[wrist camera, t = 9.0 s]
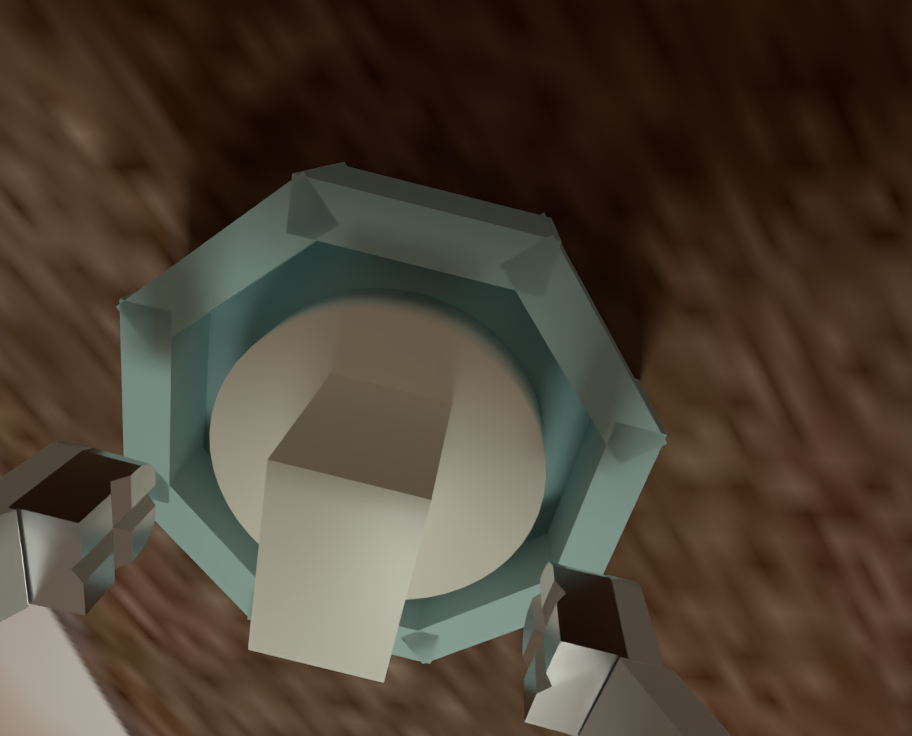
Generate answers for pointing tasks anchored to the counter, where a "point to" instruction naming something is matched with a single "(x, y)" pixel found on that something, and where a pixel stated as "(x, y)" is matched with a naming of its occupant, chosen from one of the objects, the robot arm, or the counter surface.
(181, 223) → the counter surface
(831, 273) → the counter surface
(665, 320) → the counter surface
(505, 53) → the counter surface
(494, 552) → the cap
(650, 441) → the studded octagonal holder
